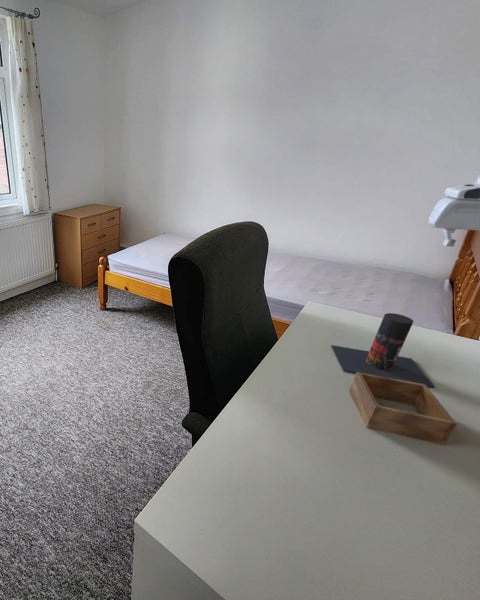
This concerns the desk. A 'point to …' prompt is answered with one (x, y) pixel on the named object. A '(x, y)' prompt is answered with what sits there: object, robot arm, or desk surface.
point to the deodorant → (389, 341)
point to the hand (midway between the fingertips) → (471, 247)
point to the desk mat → (401, 370)
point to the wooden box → (423, 426)
